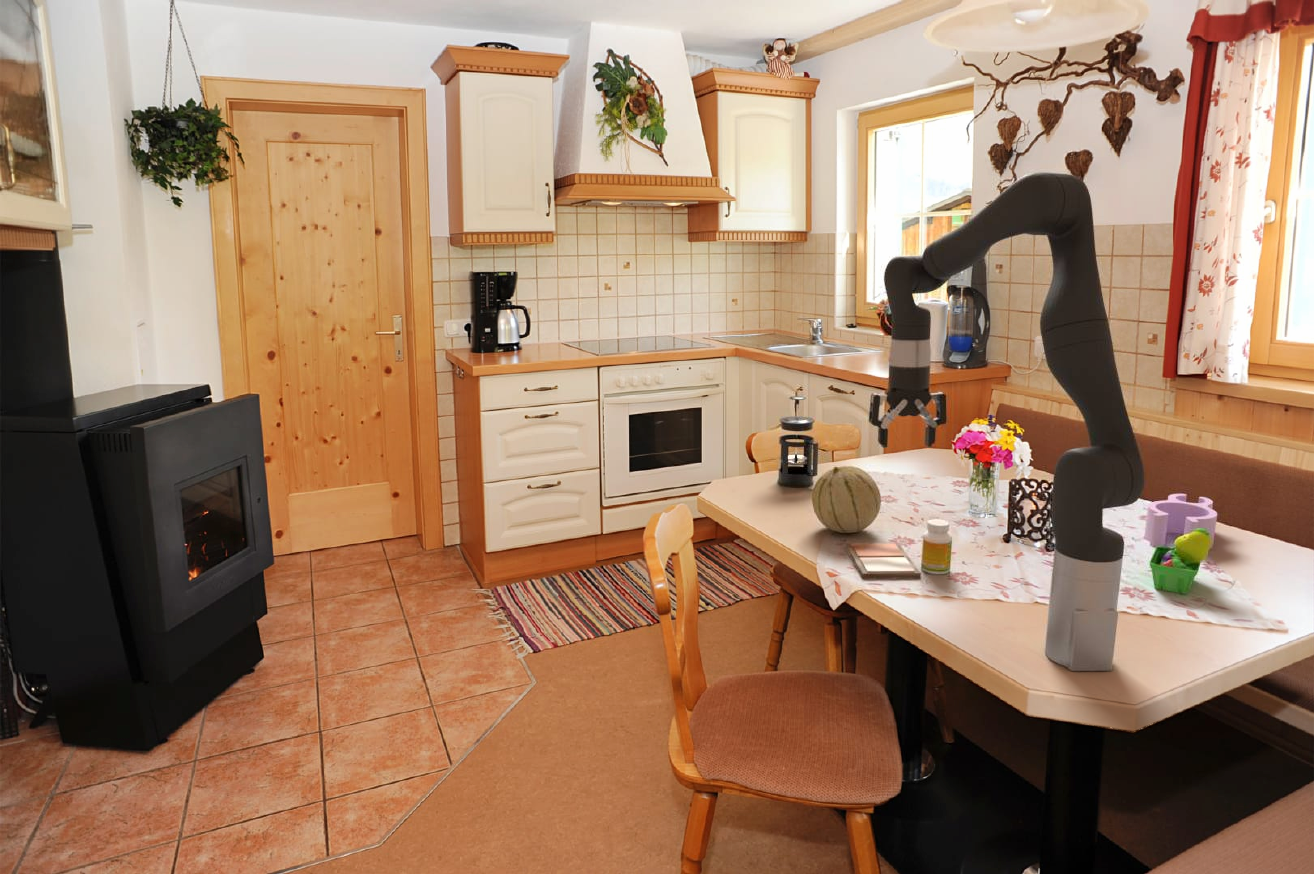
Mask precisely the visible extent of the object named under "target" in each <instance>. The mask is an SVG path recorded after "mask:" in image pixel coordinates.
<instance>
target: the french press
mask: <svg viewBox="0 0 1314 874" xmlns="http://www.w3.org/2000/svg"><path fill="white" fill-rule="evenodd" d="M788 399H789V400H793V401H794V400H795V405H796V412H795V413H796V415H794V416H785V417H781V418H780V419H779V422H780V428H781V429H782V430H784V431H788V432H795V434H785V435H781V436H779V438H778V441H779V442H778V443H779V445H780V458H779V460H780V468H779V469H778V476H777V477H778V479H777V484H778V485H780V486H782V487H787V488H796V489H799V488H806V487H811V486H813V485H814V484H815V483H814V477H816V476H818V465H819V464H818V463H819V443H818V441H817V442H816V441H815V437H813V436H810V435H807V434H798V432H807V431H812V430H813V429H814V428H813V425H814V423H815V419H814V418H811V417H807V416H799V405H800V401H802V400H806V397H805V396H803V395H792V396H789V398H788ZM789 440H795V441H789ZM798 440H800V441H798ZM801 440H802V441H801ZM789 448H795V454H791V455H790V454H789ZM798 448H803V455H800V454H799V455H798Z"/></svg>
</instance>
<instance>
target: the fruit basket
mask: <svg viewBox="0 0 1314 874" xmlns="http://www.w3.org/2000/svg"><path fill="white" fill-rule="evenodd" d="M1209 535H1210V533H1209V532H1208V531H1207V530H1205V529H1202V528H1198V529H1195V530H1194V531H1193V532H1192V533H1190V534H1186V535H1184V534H1182V535H1181V536H1178V537H1177V538H1176V539H1175V540H1174V546H1173V547H1169V546H1158V547H1155V550H1154V552H1153V554H1152V556H1151V558H1150V560H1149V566H1150V568H1151V573H1152V574H1151V575H1152V580H1153V585H1154V589H1156V590H1163V591H1165V592H1171V593H1172V592H1173V593H1177V594H1179V593H1180V594H1183V595H1188V593H1189V591H1190V588H1191V587H1192V584H1193V581H1194V579H1195V577H1196V576H1197V575H1198V572H1199V571H1200V570H1199V569H1200V566H1201V563H1202V562H1203V561H1204V560H1205V559H1206V558H1207V557H1208V554H1209V550H1210V549H1209V547H1210V545H1211V543H1212V540H1211V538H1210V536H1209Z"/></svg>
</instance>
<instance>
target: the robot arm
mask: <svg viewBox="0 0 1314 874" xmlns="http://www.w3.org/2000/svg"><path fill="white" fill-rule="evenodd" d="M1091 198H1092V197H1091V194H1090V191H1089V189H1088V186H1087V185H1086V182H1085V181H1083V180H1082V178H1081V177H1078V176H1076V175H1073V174H1070V173H1069V174H1068V173H1059V172H1046V171H1045V172H1043V171H1041V172H1040V171H1038V172H1032V173H1027V174H1025V175H1023V176H1022V177H1020V178H1018V179H1017V180H1015V181H1014V182H1013V183H1012V184H1010V185H1009V186H1008V187H1007V188H1006V189H1004V190H1002V192H1001V193H1000V194H999V195H997V196H996V197H995V198H994V199H993V200H992V201H990V202H989V203H988V204H987V205H986V206H985V207H983V208H982V209H981V210H980V211H978V212H977V213H976V214H975V215H973V217H971V218H970V219H969V220H967V221H966V222H964V223H962V224H961V225H959V226H957V227H956V228H954V229H953V230H951V231H949V232H947V233H946V234H944V235H942V236H940V237H938V238H936V239H935V240H933V241H932V242H931V243H929V244H928V245H927V246H926V247H925V249H924V250H923V253H922V254H919V255H917V254H916V255H915V254H911V255H897V256H894V257H892V258H891V259H890V260H889V262H888V263H887V265H886V267H885V270H884V273H883V275H884V276H883V282H884V284H883V285H884V289H885V293H886V297H887V300H888V301H887V302H888V306H889V309H890V310H889V311H890V315H891V319H892V320H891V334H890V335H891V337H890V338H891V339H890V340H891V341H890V347H889V355H888V385H887V387H888V389H887V392H886V394H878V393H876V392H872V393H871V395H870V403H869V414H868V422H869V424H871V425H872V426H875V427H877V429H878V430H877V441H878V444H879V445H880V446H881V447H882V448H884V449H885V448H888V443H889V442H888V439H889V438H888V437H889V435H888V434H889V428H888V427H889V425H890V424H891V423H892V422H893V421H894V420H895V419H896V418H897V416H899V417H908V416H909V417H910V416H911V417H918V416H920V417H921V418H922V419H923V421H924V422H925V423H926V426H925V435H924V445H925V447H927V448H932V446H933V445H934V444H935V442H936V432H937V431H936V429H937V428H938V426H941V425H946V423H947V395H946V394H945V393H944V392H941V391H937V392H933V393H931V392H930V381H931V378H930V377H931V356H932V355H931V354H932V353H931V352H932V350H931V348H932V347H931V327H932V326H931V325H932V315H931V311H930V310H929V309H928V308H926V307H923V306H919V305H916V303H915V299H914V294H917V295H918V294H927V293H928V294H929V293H931V292H934V291H936V290H938V289H940V288H941V287H942V286H943V285H945V284H946V283H947V282H948V281H949V280H950V279H951V278H952V277H953V276H955V275H957V274H960V273H962V272H963V271H966V270H968V269H969V268H971V267H973V266H975V265H976V264H978V263H979V262H980V261H981V260H983V258H984V257H985V256H986V255H987V254H988V252H989V251H990V249H991V247H992V246H994V245H995V244H997V243H999V242H1001V241H1003V240H1005V239H1009V238H1012V237H1016V236H1020V235H1025V234H1026V235H1030V236H1046V237H1047V240H1048V243H1049V247H1050V252H1051V259H1052V266H1053V267H1052V269H1053V271H1052V279H1051V282H1050V286H1049V288H1048V292H1047V294H1046V297H1045V299H1044V302H1043V306H1042V309H1041V313H1040V319H1039V328H1040V330H1039V331H1040V335H1041V341H1042V347H1043V353H1044V357H1045V361H1046V364H1047V367H1048V368H1049V371H1050V372H1051V374H1052V376H1053V377H1054V378H1055V380H1056V381H1057V383H1058V384H1059V386H1061V388H1062V389H1063V391H1064V392H1066V394H1067V395H1068V396H1069V398H1070V399H1071V400H1072V402H1073V403H1074V404H1075V406H1076V408H1078V411H1079V412H1080V414H1081V415H1082V418H1083V420H1084V424H1085V427H1086V431H1087V434H1088V438H1089V439H1088V440H1089V444H1090V446H1084V447H1076V448H1072V449H1068V450H1066V451H1065V452H1063V453H1062V454H1061V455H1060V457H1059V458H1058V459H1057V462H1056V465H1055V467H1054V473H1053V478H1052V479H1053V481H1052V500H1051V501H1052V506H1051V527H1052V530H1053V535H1054V540H1055V541H1054V550H1053V551H1054V553H1053V559H1052V560H1053V561H1052V568H1051V569H1052V571H1051V579H1050V580H1051V581H1050V591H1049V601H1048V612H1047V624H1046V636H1045V644H1044V645H1045V646H1044V653H1045V655H1046V657H1047V658H1048V659H1050V660H1051V661H1053V662H1054V663H1056V664H1058V665H1060V666H1064V667H1066V668H1067V669H1068V670H1069V671H1071V672H1077V671H1078V672H1080V671H1081V672H1082V671H1083V672H1085V671H1086V672H1091V671H1094V672H1096V671H1097V672H1098V671H1100V672H1101V671H1102V672H1103V671H1105V672H1106V671H1113V662H1114V661H1113V660H1114V652H1115V645H1116V636H1117V627H1118V619H1119V612H1118V611H1117V610H1118V601H1119V593H1120V584H1121V576H1122V567H1123V559H1124V551H1125V540H1124V537H1123V536H1122V535H1121V534H1120V533H1119V532H1117V531H1115V530H1113V529H1111V528H1107V527H1104V525H1103V523H1104V522H1103V521H1104V520H1103V515H1104V514H1103V511H1104V509H1111V508H1120V507H1126V506H1130V505H1133V504H1135V502H1137V501H1138V500H1139V499H1140V498H1141V496H1142V494H1143V492H1144V488H1145V481H1146V480H1145V479H1146V477H1145V476H1146V475H1145V469H1144V468H1145V467H1144V462H1143V460H1142V459H1143V458H1142V456H1141V452H1140V450H1139V449H1140V448H1139V445H1138V442H1137V439H1136V436H1135V434H1134V431H1133V427H1132V424H1131V420H1130V416H1129V414H1128V410H1127V407H1126V403H1125V398H1124V394H1123V389H1122V386H1121V382H1120V378H1119V371H1118V369H1117V367H1118V366H1117V363H1116V357H1115V352H1114V344H1113V339H1112V334H1111V329H1110V324H1109V318H1108V316H1107V315H1108V314H1107V311H1106V307H1105V303H1104V297H1103V290H1102V284H1101V278H1100V272H1099V268H1098V261H1097V251H1096V240H1095V230H1094V228H1095V227H1094V216H1093V214H1094V213H1093V205H1092V199H1091ZM931 400H932V402H933V404H935V413H936V414H935V418H934V417H933V416H932V414H931V413H930V411H929V410H928V409H927V406H928V405H929V403H930V402H931ZM885 401H886V403H887V404H888V408H886V410H885V411H884V414H883V415H882V417H881V418H879V414H880V406H882V405H883V404H884V402H885Z"/></svg>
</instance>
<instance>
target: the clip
mask: <svg viewBox="0 0 1314 874" xmlns="http://www.w3.org/2000/svg"><path fill="white" fill-rule="evenodd" d="M1213 503H1214V502H1213V500H1212V499H1210V498H1208V497H1205V496H1199V497H1198V502H1197V503H1196V502H1187V494H1186V493H1172V494H1169V495H1168V497H1167V499H1166V500H1157V501H1153V502H1152V501H1151V502H1149V503H1148V505H1147V511H1146V512H1147V513H1146V521H1145V528H1144V538H1145V539H1146V540H1147V541H1148V542H1149V546H1150V547H1155V548H1156V547H1158V546H1161V547H1165V545H1166V536H1167V534H1168V533H1169V534H1170V533H1171V534H1172V533H1174V534H1181V535H1186V534H1190V533H1192V532H1193V531H1194V530H1195V529H1198V528H1202V529H1205V530H1207V531H1208V532H1209V533H1210V535H1209V536H1210V538H1211V540H1212V543H1211V545H1210V547H1209V550H1210V549H1211V548H1213V547H1214V541H1215V533H1216V529H1217V528H1216V526H1217V522H1218V521H1217V519H1218V512H1217V511H1215V510H1214V509H1213V505H1214V504H1213Z"/></svg>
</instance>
